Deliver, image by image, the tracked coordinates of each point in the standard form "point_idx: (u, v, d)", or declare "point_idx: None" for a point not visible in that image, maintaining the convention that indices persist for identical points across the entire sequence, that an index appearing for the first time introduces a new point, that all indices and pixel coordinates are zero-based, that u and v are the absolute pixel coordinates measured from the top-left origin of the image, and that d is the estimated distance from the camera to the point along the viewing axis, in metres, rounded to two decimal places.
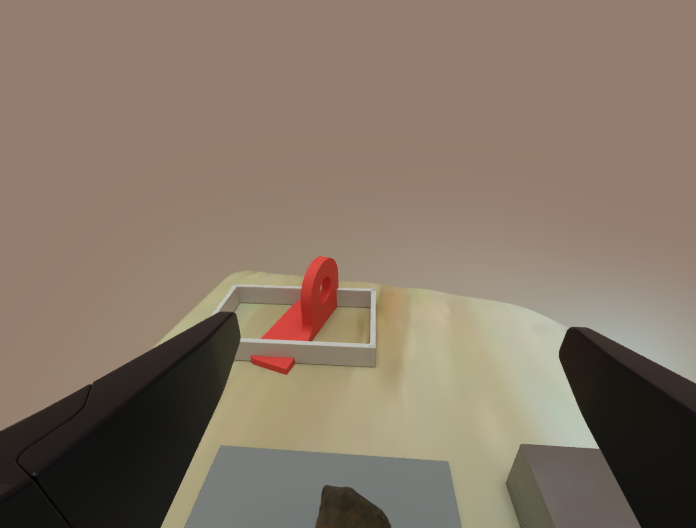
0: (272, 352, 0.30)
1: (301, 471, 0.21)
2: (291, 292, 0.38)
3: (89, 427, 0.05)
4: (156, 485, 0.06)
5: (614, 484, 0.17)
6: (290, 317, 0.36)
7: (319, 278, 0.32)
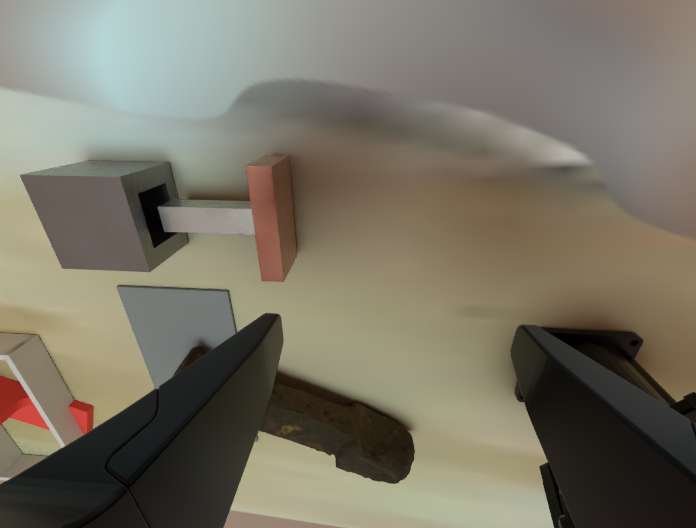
0: (72, 427, 0.29)
1: None
2: None
3: (168, 433, 0.05)
4: (219, 490, 0.06)
5: (66, 196, 0.16)
6: None
7: None
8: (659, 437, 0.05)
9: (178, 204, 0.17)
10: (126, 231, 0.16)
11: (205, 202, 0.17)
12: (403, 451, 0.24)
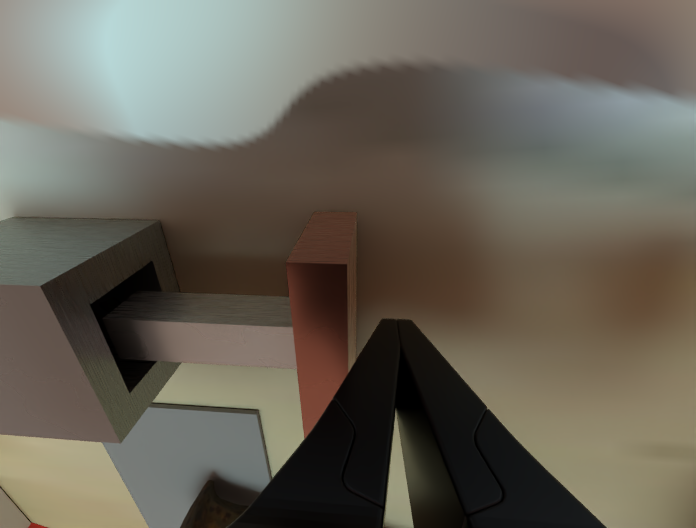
0: None
1: (167, 522, 0.19)
2: None
3: (382, 449, 0.05)
4: None
5: None
6: None
7: None
8: (442, 423, 0.05)
9: (144, 310, 0.09)
10: (68, 381, 0.08)
11: (197, 303, 0.09)
12: None
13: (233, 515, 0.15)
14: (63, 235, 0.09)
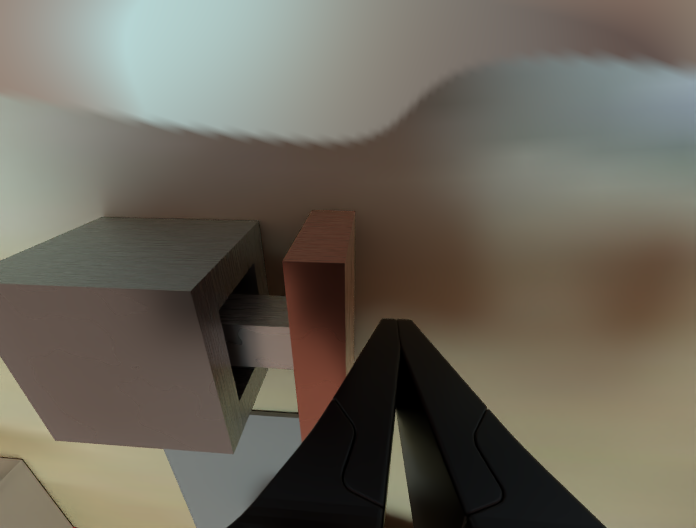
0: None
1: None
2: None
3: (382, 449, 0.05)
4: None
5: (62, 324, 0.07)
6: None
7: None
8: (442, 422, 0.05)
9: None
10: (193, 390, 0.07)
11: None
12: None
13: None
14: (171, 236, 0.09)
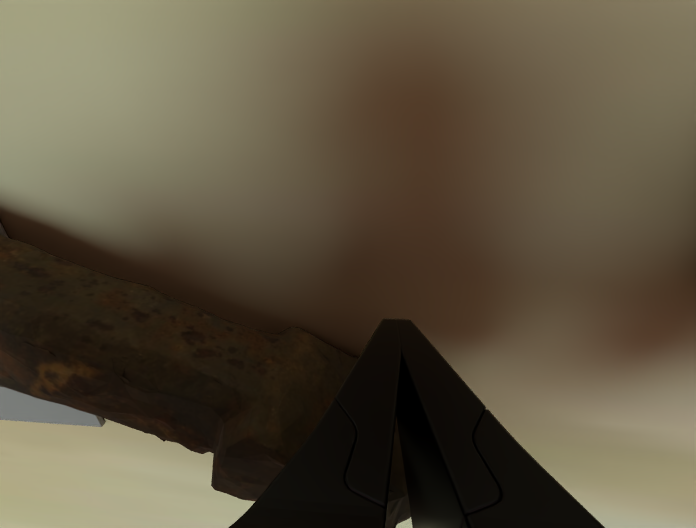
0: None
1: None
2: None
3: (384, 449, 0.05)
4: None
5: None
6: None
7: None
8: (441, 422, 0.05)
9: None
10: None
11: None
12: None
13: None
14: None
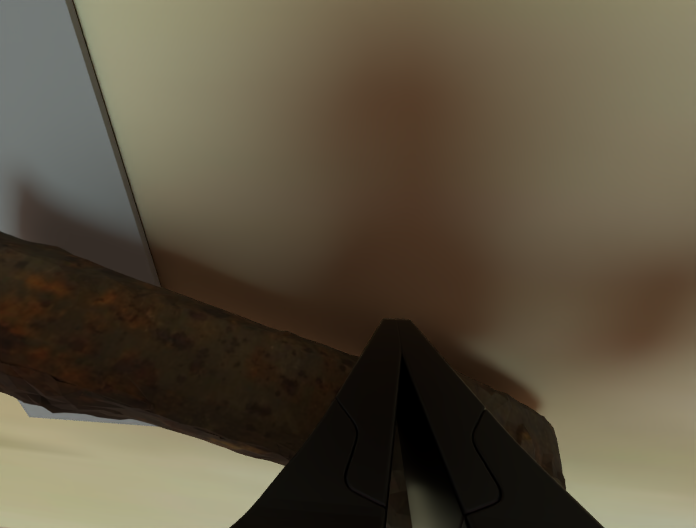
0: None
1: None
2: None
3: (384, 449, 0.05)
4: None
5: None
6: None
7: None
8: (441, 422, 0.05)
9: None
10: None
11: None
12: None
13: None
14: None
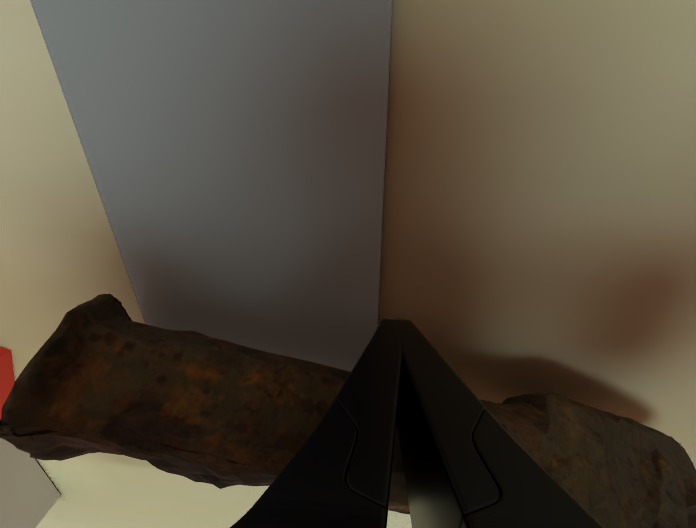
0: None
1: (181, 320, 0.11)
2: None
3: (385, 449, 0.05)
4: None
5: None
6: None
7: None
8: (440, 422, 0.05)
9: None
10: None
11: None
12: None
13: (140, 346, 0.08)
14: None
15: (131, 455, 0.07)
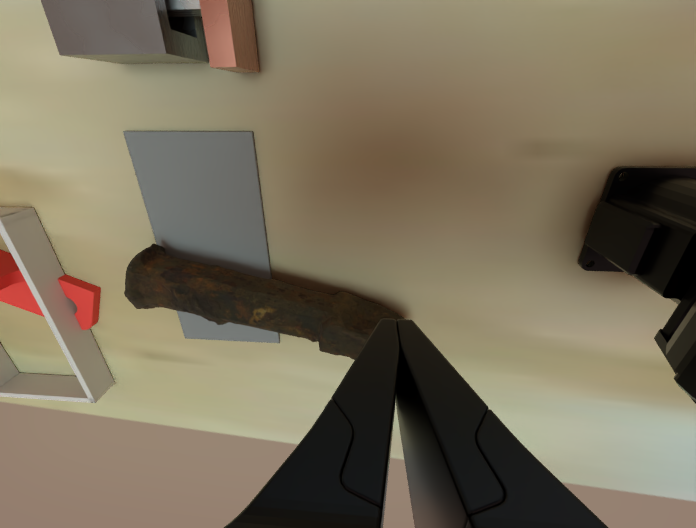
0: (73, 327, 0.26)
1: None
2: None
3: (380, 448, 0.05)
4: None
5: None
6: (5, 294, 0.26)
7: None
8: (444, 423, 0.05)
9: None
10: None
11: None
12: None
13: (175, 258, 0.22)
14: None
15: (168, 285, 0.20)
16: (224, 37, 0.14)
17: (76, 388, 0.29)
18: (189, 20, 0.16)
